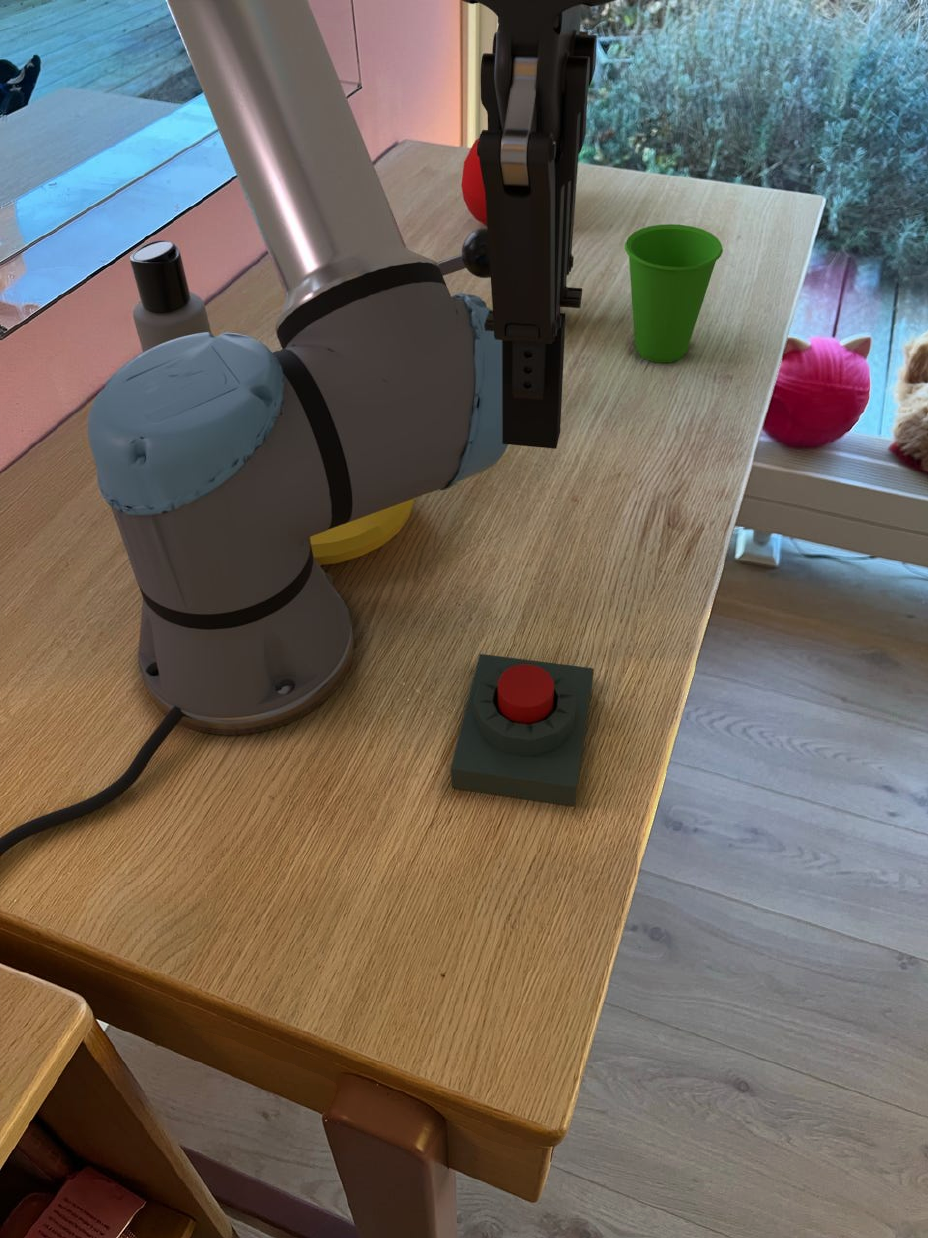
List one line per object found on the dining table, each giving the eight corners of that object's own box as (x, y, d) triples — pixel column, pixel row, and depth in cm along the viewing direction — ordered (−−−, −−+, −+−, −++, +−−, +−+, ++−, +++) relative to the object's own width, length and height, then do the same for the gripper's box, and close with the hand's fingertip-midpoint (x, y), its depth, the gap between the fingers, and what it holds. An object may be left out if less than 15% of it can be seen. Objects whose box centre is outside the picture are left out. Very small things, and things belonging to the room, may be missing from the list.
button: (549, 727, 64) (550, 710, 62) (493, 720, 64) (493, 702, 63) (556, 685, 66) (557, 667, 65) (502, 678, 67) (502, 660, 65)
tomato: (507, 253, 117) (507, 155, 109) (442, 223, 123) (438, 128, 115) (577, 221, 123) (582, 125, 115) (511, 194, 129) (512, 101, 121)
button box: (574, 807, 64) (578, 769, 61) (451, 788, 65) (449, 751, 62) (591, 688, 70) (595, 650, 68) (480, 674, 72) (479, 635, 69)
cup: (702, 327, 104) (719, 224, 96) (709, 375, 98) (726, 268, 90) (615, 325, 105) (624, 222, 97) (616, 372, 99) (625, 266, 91)
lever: (525, 262, 76) (507, 215, 75) (494, 279, 75) (475, 232, 73) (408, 300, 88) (391, 260, 87) (379, 316, 86) (361, 275, 85)
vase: (415, 584, 78) (409, 513, 73) (213, 588, 78) (194, 518, 73) (420, 464, 89) (415, 395, 84) (244, 468, 90) (229, 400, 85)
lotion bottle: (226, 482, 88) (172, 266, 74) (165, 476, 89) (101, 261, 75) (248, 445, 92) (201, 232, 78) (190, 439, 93) (133, 228, 79)
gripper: (644, -108, 28) (592, 529, 45) (669, -182, 37) (618, 373, 54) (387, -110, 29) (430, 512, 46) (471, -181, 38) (481, 362, 55)
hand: (531, 437), depth 50 cm, fingers closed
